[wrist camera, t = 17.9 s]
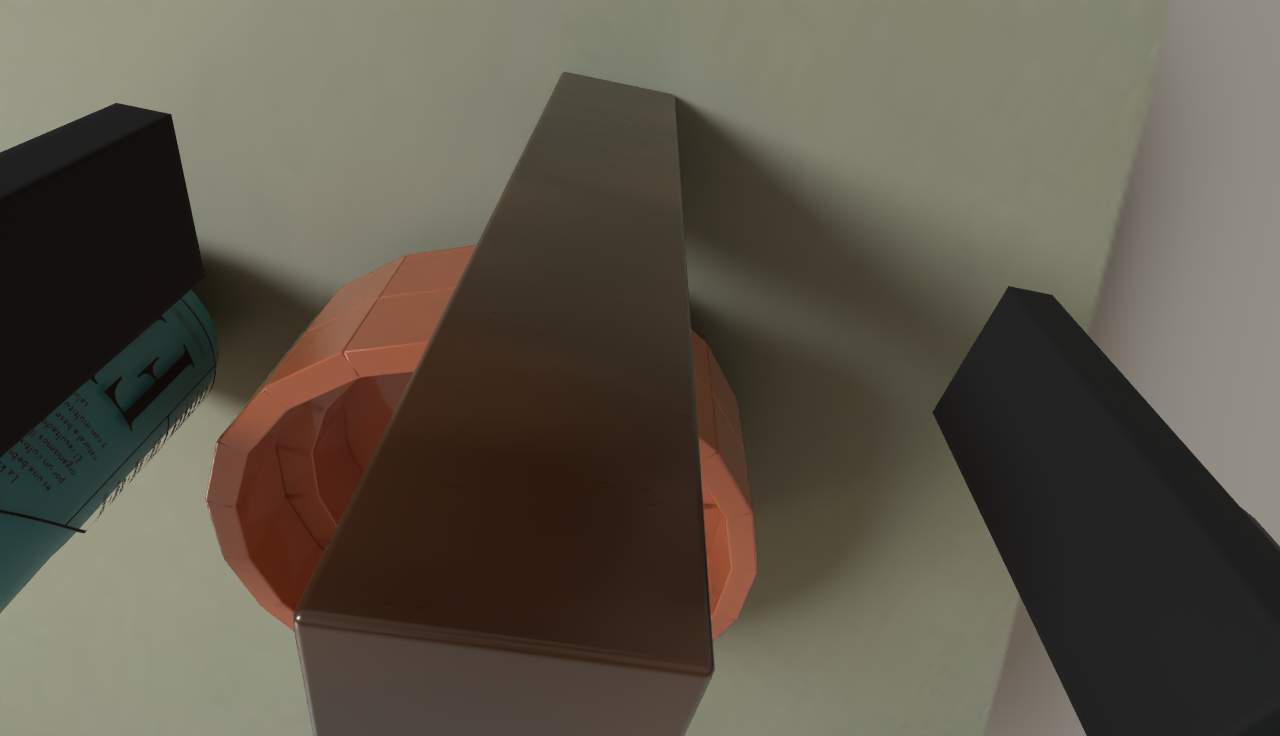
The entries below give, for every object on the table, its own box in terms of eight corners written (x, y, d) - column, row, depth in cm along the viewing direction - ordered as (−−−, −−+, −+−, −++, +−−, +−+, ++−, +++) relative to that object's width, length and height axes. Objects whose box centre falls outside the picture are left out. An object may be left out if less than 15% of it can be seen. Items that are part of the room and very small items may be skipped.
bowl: (610, 142, 19) (591, 235, 14) (797, 501, 27) (828, 641, 22) (203, 346, 23) (79, 472, 18) (469, 602, 31) (433, 737, 26)
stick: (549, 181, 19) (321, 805, 6) (562, 70, 18) (285, 619, 5) (652, 201, 20) (638, 839, 7) (675, 94, 18) (718, 675, 5)
